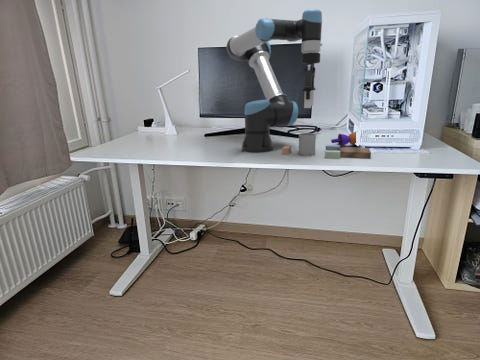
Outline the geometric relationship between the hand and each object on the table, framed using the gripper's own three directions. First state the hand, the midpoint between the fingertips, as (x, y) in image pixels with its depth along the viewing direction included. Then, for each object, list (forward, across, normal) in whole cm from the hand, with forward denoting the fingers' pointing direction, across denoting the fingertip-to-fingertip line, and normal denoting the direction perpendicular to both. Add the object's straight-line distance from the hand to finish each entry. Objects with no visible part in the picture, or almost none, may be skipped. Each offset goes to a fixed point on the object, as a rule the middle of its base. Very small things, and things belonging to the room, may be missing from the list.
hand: (308, 106), depth 133 cm
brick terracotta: (+21, +1, +9) cm, 23 cm away
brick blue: (+21, +7, -11) cm, 25 cm away
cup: (+21, +2, 0) cm, 21 cm away
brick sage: (+21, -5, -11) cm, 24 cm away
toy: (+19, +21, -10) cm, 30 cm away
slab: (+21, +1, -20) cm, 29 cm away
